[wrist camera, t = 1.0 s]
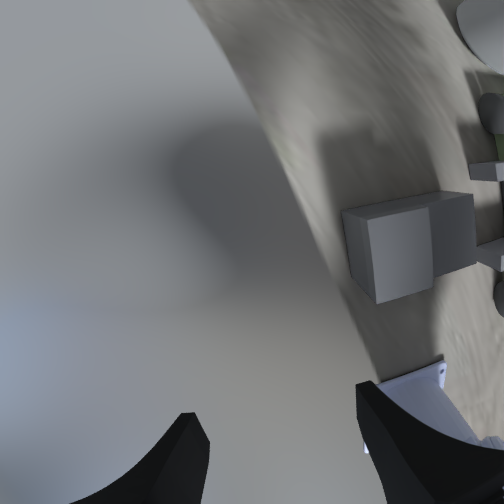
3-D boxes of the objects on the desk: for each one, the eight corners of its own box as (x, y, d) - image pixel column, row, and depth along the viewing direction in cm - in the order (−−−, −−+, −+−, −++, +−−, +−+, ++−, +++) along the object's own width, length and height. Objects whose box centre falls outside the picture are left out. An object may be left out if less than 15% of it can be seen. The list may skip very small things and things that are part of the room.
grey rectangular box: (447, 250, 18) (486, 267, 13) (351, 276, 19) (376, 304, 14) (442, 190, 17) (483, 195, 12) (341, 210, 18) (366, 220, 13)
